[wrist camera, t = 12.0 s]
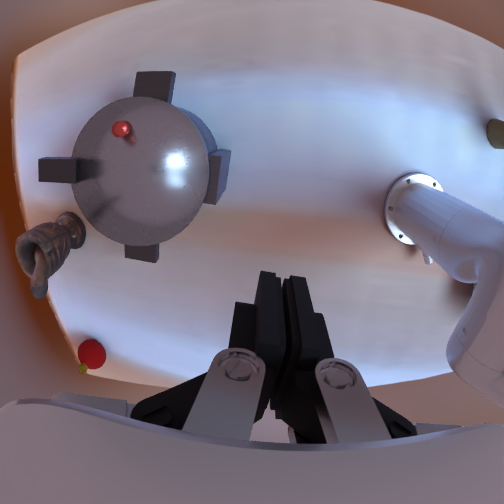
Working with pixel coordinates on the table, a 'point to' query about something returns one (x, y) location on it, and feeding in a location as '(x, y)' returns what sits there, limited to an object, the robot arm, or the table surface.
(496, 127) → the olive green tall piece
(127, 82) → the table surface
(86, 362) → the christmas ornament
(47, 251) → the mortar and pestle
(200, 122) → the pot
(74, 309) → the table surface
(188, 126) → the lid
